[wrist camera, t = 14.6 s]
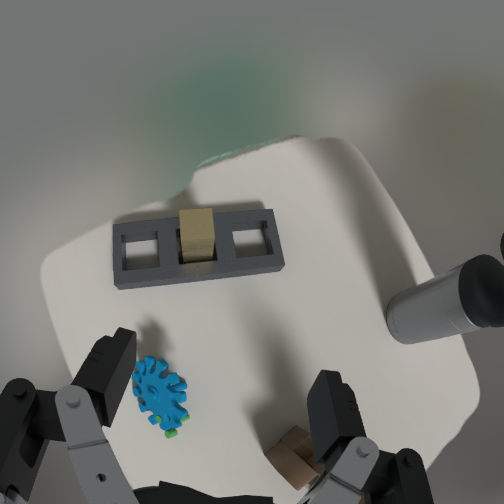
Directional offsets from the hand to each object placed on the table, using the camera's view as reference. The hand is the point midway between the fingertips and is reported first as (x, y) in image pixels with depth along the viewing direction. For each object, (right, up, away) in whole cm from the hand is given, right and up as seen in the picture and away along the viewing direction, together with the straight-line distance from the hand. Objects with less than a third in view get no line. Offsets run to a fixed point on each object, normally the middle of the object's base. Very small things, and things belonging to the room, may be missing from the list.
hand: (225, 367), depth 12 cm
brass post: (-7, +5, +33) cm, 34 cm away
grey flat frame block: (-7, +5, +33) cm, 34 cm away
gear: (-11, -15, +26) cm, 32 cm away
